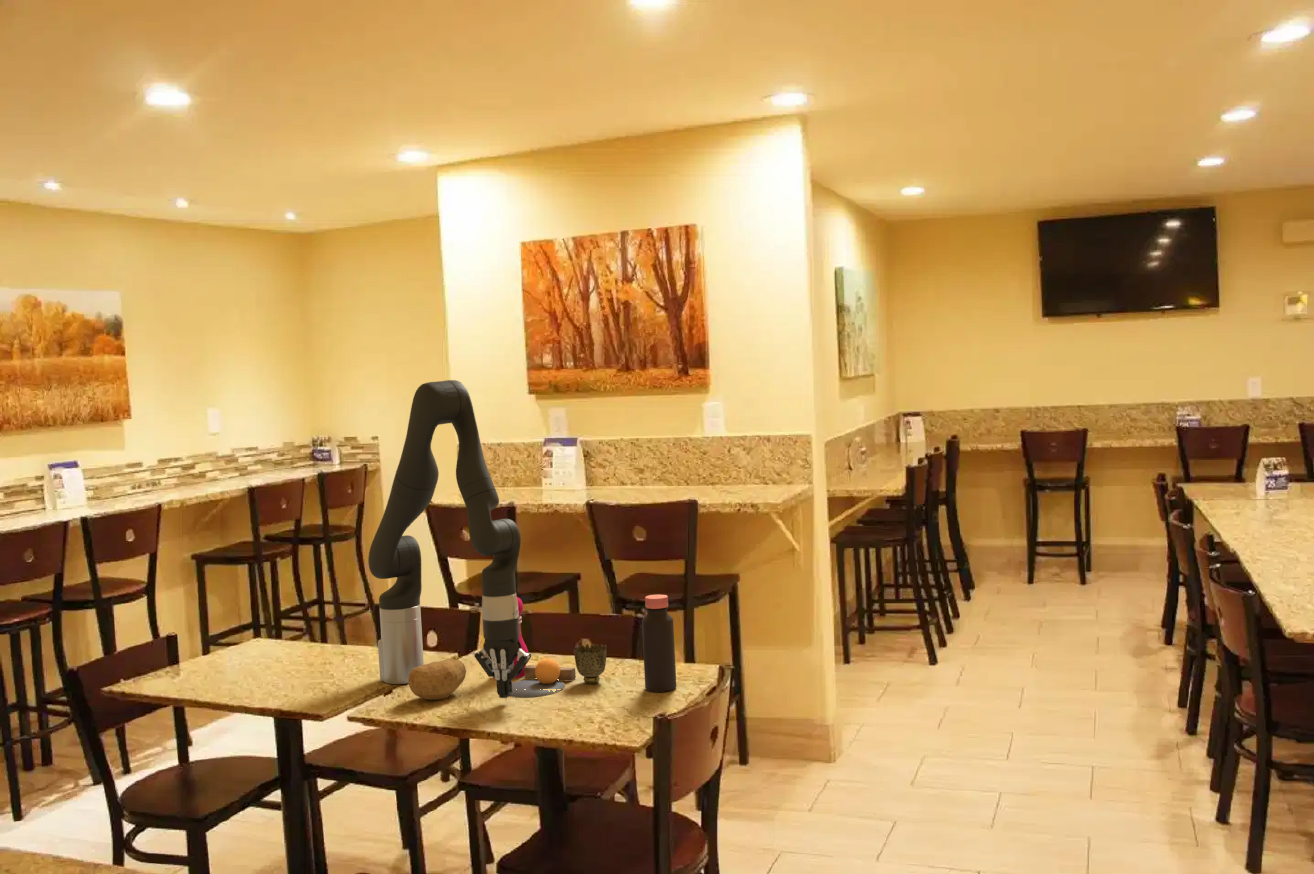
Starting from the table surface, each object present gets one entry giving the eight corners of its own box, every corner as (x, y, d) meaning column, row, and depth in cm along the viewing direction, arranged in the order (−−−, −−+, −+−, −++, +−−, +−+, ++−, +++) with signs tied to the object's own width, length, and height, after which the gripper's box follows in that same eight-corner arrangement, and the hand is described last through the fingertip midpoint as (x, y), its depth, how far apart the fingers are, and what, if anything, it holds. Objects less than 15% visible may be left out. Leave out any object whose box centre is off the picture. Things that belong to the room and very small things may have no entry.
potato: (479, 692, 236) (477, 656, 236) (427, 709, 226) (425, 671, 225) (450, 686, 243) (448, 651, 242) (399, 702, 232) (396, 665, 232)
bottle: (648, 683, 237) (644, 593, 236) (679, 684, 235) (674, 593, 234) (642, 692, 230) (637, 599, 229) (673, 693, 229) (668, 599, 228)
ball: (530, 684, 239) (530, 659, 239) (541, 681, 244) (542, 656, 245) (553, 686, 237) (553, 660, 237) (564, 683, 242) (564, 657, 243)
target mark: (489, 695, 234) (488, 694, 234) (520, 677, 247) (520, 677, 247) (546, 699, 229) (546, 698, 229) (575, 681, 242) (575, 680, 242)
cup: (603, 687, 236) (601, 651, 235) (571, 687, 237) (569, 651, 237) (612, 678, 243) (610, 642, 243) (580, 677, 245) (578, 643, 244)
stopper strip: (524, 678, 247) (524, 667, 247) (529, 675, 248) (528, 665, 248) (571, 681, 242) (571, 670, 242) (575, 678, 244) (575, 667, 244)
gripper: (463, 618, 225) (468, 700, 226) (519, 620, 220) (523, 704, 221) (482, 610, 232) (487, 690, 233) (536, 612, 227) (541, 693, 228)
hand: (505, 696), depth 227 cm, fingers closed
